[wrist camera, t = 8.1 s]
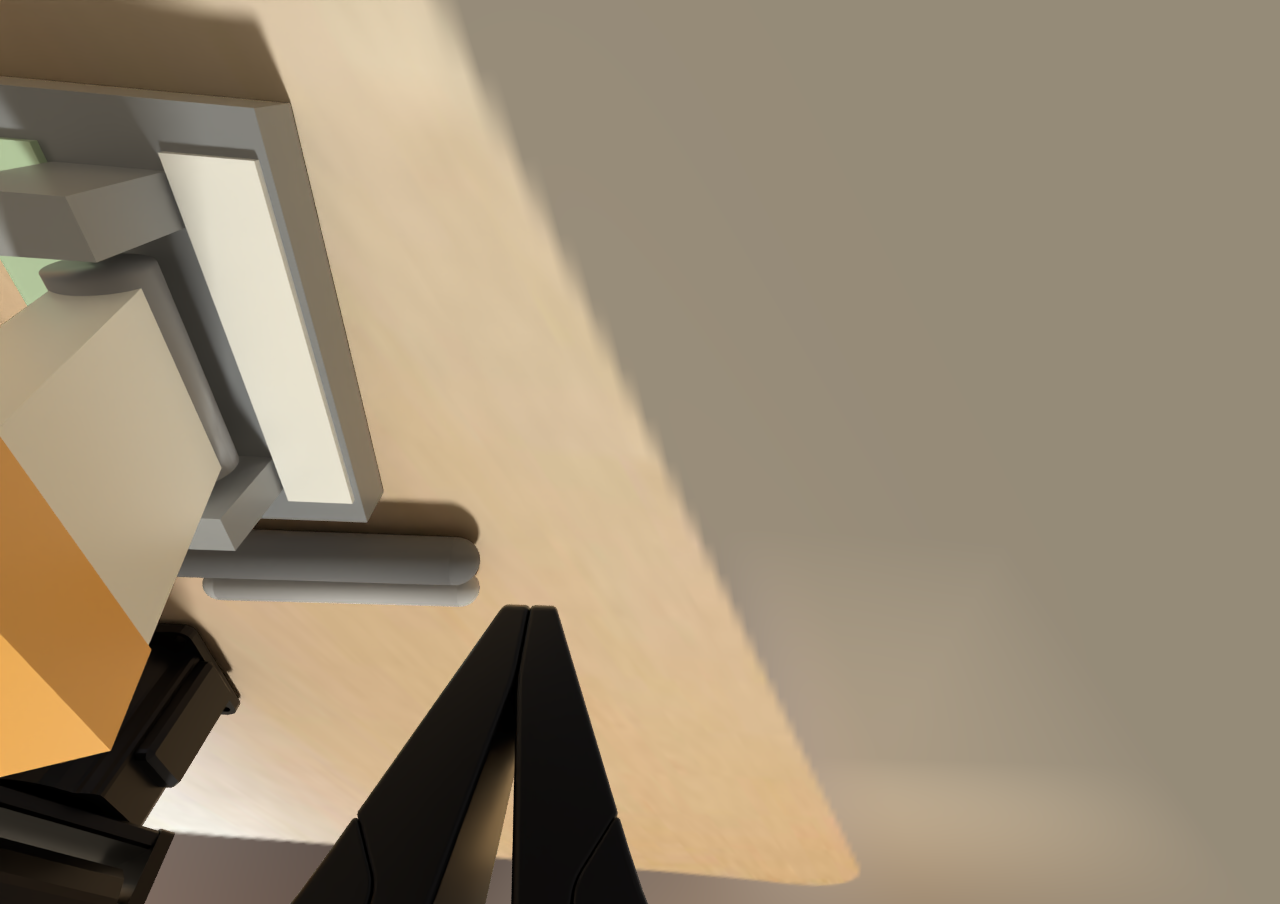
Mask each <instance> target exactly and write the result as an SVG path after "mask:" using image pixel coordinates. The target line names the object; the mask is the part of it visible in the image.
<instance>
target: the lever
mask: <svg viewBox="0 0 1280 904" xmlns="http://www.w3.org/2000/svg"><path fill="white" fill-rule="evenodd" d="M39 275H40V277H41V279H42V281H43V283H44V285H45V286H46V288H47V290H48V291H47V292H46V293H45V294H43V295H42V296H41V297H39V298H38V299H37V300H35V301H34V302H32V303H31V304H30V305H28V306H27V307H26V308H24V309H23V310H21V311H20V312H19V313H17V314H16V315H15V316H13V317H12V318H10V319H9V320H8V321H6V322H5V323H4V324H2V325H1V326H0V777H3V776H7V775H11V774H16V773H20V772H24V771H28V770H32V769H36V768H41V767H45V766H49V765H53V764H57V763H61V762H66V761H70V760H74V759H78V758H82V757H86V756H91V755H95V754H99V753H103V752H107V751H111V749H112V746H113V744H114V741H115V739H116V737H117V734H118V732H119V729H120V727H121V724H122V722H123V719H124V717H125V714H126V712H127V709H128V707H129V704H130V702H131V699H132V697H133V694H134V692H135V689H136V687H137V684H138V682H139V679H140V677H141V674H142V672H143V670H144V667H145V665H146V662H147V660H148V657H149V655H150V652H151V648H150V647H149V643H150V641H151V638H152V636H153V633H154V631H155V629H156V626H157V624H158V621H159V619H160V616H161V614H162V612H163V609H164V607H165V604H166V602H167V599H168V597H169V594H170V592H171V590H172V587H173V585H174V582H175V580H176V577H177V575H178V573H179V570H180V568H181V565H182V563H183V560H184V558H185V556H186V553H187V551H188V548H189V546H190V543H191V541H192V538H193V536H194V534H195V531H196V529H197V526H198V524H199V521H200V519H201V517H202V514H203V512H204V509H205V507H206V504H207V502H208V499H209V497H210V495H211V492H212V490H213V487H214V485H215V482H216V481H218V480H220V479H222V478H224V477H225V476H227V475H228V474H230V473H231V472H232V471H233V470H234V469H235V468H236V466H237V465H238V463H239V456H238V453H237V451H236V449H235V446H234V444H233V441H232V439H231V437H230V434H229V432H228V429H227V427H226V425H225V422H224V420H223V417H222V415H221V413H220V410H219V408H218V405H217V403H216V401H215V398H214V396H213V393H212V391H211V389H210V386H209V384H208V381H207V379H206V377H205V374H204V372H203V370H202V367H201V365H200V362H199V360H198V358H197V355H196V353H195V350H194V348H193V346H192V343H191V341H190V338H189V336H188V334H187V331H186V329H185V326H184V324H183V322H182V319H181V317H180V314H179V312H178V310H177V307H176V305H175V302H174V300H173V298H172V295H171V293H170V290H169V288H168V286H167V283H166V281H165V278H164V276H163V274H162V271H161V269H160V266H159V264H158V262H157V260H156V259H155V258H153V257H150V256H146V255H141V254H130V253H120V254H117V255H115V256H112V257H110V258H107V259H104V260H102V261H99V262H97V263H96V262H82V261H68V260H61V261H57V262H54V263H51V264H49V265H47V266H45V267H43V268H42V269H40V271H39Z"/></svg>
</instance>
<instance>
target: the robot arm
mask: <svg viewBox="0 0 1280 904" xmlns="http://www.w3.org/2000/svg"><path fill="white" fill-rule="evenodd" d="M149 647H150V648H151V652H150V655H149V657H148V660H147V662H146V665H145V667H144V670H143V672H142V674H141V677H140V679H139V682H138V684H137V687H136V689H135V692H134V694H133V697H132V699H131V702H130V704H129V707H128V709H127V712H126V714H125V717H124V719H123V722H122V724H121V727H120V729H119V732H118V734H117V737H116V739H115V741H114V744H113V746H112V749H111V751H107V752H103V753H99V754H95V755H91V756H86V757H82V758H78V759H74V760H70V761H66V762H61V763H57V764H53V765H49V766H45V767H41V768H36V769H32V770H28V771H24V772H20V773H16V774H11V775H7V776H3V777H0V904H144V903H145V901H146V899H147V896H148V894H149V892H150V890H151V887H152V885H153V883H154V880H155V878H156V876H157V874H158V871H159V869H160V867H161V864H162V862H163V860H164V858H165V855H166V853H167V851H168V849H169V846H170V844H171V842H172V840H173V837H174V835H175V833H173V832H170V831H167V830H164V829H160V830H158V831H157V830H153V829H150V828H147V827H144V826H142V825H143V824H144V822H145V820H146V819H147V817H148V816H149V814H150V812H151V811H152V809H153V807H154V806H155V804H156V803H157V801H158V799H159V798H160V796H161V795H162V793H163V791H164V790H165V788H172V787H174V786H175V785H177V784H178V783H179V782H180V781H181V779H182V778H183V776H184V774H185V773H186V771H187V769H188V768H189V766H190V764H191V763H192V761H193V759H194V758H195V756H196V755H197V753H198V751H199V750H200V748H201V746H202V745H203V743H204V741H205V740H206V738H207V736H208V735H209V733H210V731H211V730H212V728H213V726H214V725H215V723H216V722H217V720H218V718H219V717H220V715H221V714H224V715H229V714H234V713H235V712H236V710H237V708H238V707H239V705H240V701H239V699H238V697H237V696H236V694H235V693H234V691H233V689H232V688H231V686H230V684H229V683H228V681H227V679H226V678H225V676H224V674H223V673H222V671H221V670H220V668H219V666H218V665H217V663H216V661H215V660H214V658H213V656H212V655H211V653H210V652H209V650H208V648H207V647H206V645H205V643H204V642H203V640H202V638H201V637H200V635H199V634H198V632H197V631H196V630H195V629H194V628H192V627H190V626H187V625H183V624H157V626H156V629H155V631H154V633H153V636H152V638H151V641H150V643H149ZM513 778H514V807H513V852H512V897H511V899H512V900H511V904H648V903H647V900H646V898H645V895H644V893H643V890H642V887H641V884H640V881H639V878H638V875H637V872H636V869H635V866H634V863H633V860H632V857H631V854H630V851H629V848H628V844H627V841H626V838H625V834H624V831H623V828H622V824H621V821H620V819H619V818H617V814H618V812H617V808H616V805H615V802H614V798H613V795H612V792H611V788H610V785H609V782H608V778H607V775H606V772H605V768H604V765H603V762H602V758H601V755H600V752H599V748H598V745H597V742H596V738H595V735H594V731H593V728H592V725H591V721H590V718H589V715H588V711H587V708H586V705H585V701H584V698H583V695H582V691H581V688H580V685H579V681H578V678H577V675H576V671H575V668H574V665H573V661H572V658H571V655H570V651H569V648H568V645H567V641H566V638H565V634H564V631H563V628H562V624H561V621H560V618H559V614H558V611H557V609H556V607H554V606H542V605H535V606H532V607H531V608H529V606H527V605H505V606H504V607H503V608H502V609H501V610H500V611H499V613H498V614H497V615H496V617H495V618H494V620H493V621H492V622H491V624H490V625H489V627H488V628H487V630H486V631H485V632H484V634H483V635H482V637H481V638H480V639H479V641H478V642H477V644H476V645H475V647H474V648H473V649H472V651H471V652H470V654H469V655H468V656H467V658H466V659H465V661H464V662H463V664H462V665H461V666H460V668H459V669H458V671H457V672H456V673H455V675H454V676H453V678H452V679H451V681H450V682H449V683H448V685H447V686H446V688H445V689H444V690H443V692H442V693H441V695H440V696H439V698H438V699H437V700H436V702H435V703H434V705H433V706H432V708H431V709H430V710H429V712H428V713H427V715H426V716H425V717H424V719H423V720H422V722H421V723H420V725H419V726H418V727H417V729H416V730H415V732H414V733H413V734H412V736H411V737H410V739H409V740H408V742H407V743H406V744H405V746H404V747H403V749H402V750H401V751H400V753H399V754H398V756H397V757H396V759H395V760H394V761H393V763H392V764H391V766H390V767H389V768H388V770H387V771H386V773H385V774H384V776H383V777H382V778H381V780H380V781H379V783H378V784H377V785H376V787H375V788H374V790H373V791H372V793H371V794H370V795H369V797H368V798H367V800H366V801H365V802H364V804H363V805H362V807H361V808H360V810H359V811H358V814H357V815H358V818H354V819H352V820H351V822H350V823H349V825H348V826H347V828H346V829H345V830H344V832H343V833H342V835H341V836H340V838H339V839H338V840H337V842H336V843H335V845H334V846H333V847H332V849H331V850H330V852H329V853H328V854H327V856H326V857H325V858H324V860H323V861H322V863H321V864H320V865H319V867H318V868H317V869H316V871H315V872H314V873H313V875H312V876H311V878H310V879H309V880H308V881H307V883H306V884H305V885H304V887H303V888H302V890H301V891H300V892H299V893H298V895H297V896H296V897H295V899H294V900H293V901H292V902H291V904H485V903H486V899H487V894H488V890H489V885H490V881H491V876H492V872H493V867H494V863H495V858H496V854H497V849H498V845H499V840H500V836H501V832H502V827H503V823H504V818H505V814H506V809H507V805H508V800H509V796H510V791H511V787H512V782H513Z"/></svg>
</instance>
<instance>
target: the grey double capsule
mask: <svg viewBox="0 0 1280 904" xmlns="http://www.w3.org/2000/svg"><path fill="white" fill-rule="evenodd" d="M479 565H480V555H479V552H478V549H477V548H476V546H475V545H474V544H473V543H472V542H470V541H469V540H467V539H464V538H460V537H442V536H415V535H389V534H362V533H336V532H309V531H283V530H256V529H252V530H251V531H250V533H249V534H248V535H247V537H246V538H245V539H244V540H243V542H242V543H241V544H240V546H239V547H238V548H237V549H236V551H225V550H197V549H188V551H187V553H186V556H185V558H184V560H183V563H182V565H181V568H180V570H179V573H178V575H177V577H199V578H204V579H203V589H204V591H205V593H206V594H207V595H208V596H210V597H211V598H214V599H218V600H241V601H277V602H312V603H347V604H383V605H418V606H453V607H461V606H466V605H469V604H470V603H472V602H473V601H474V600H475V599H476V597H477V596H478V593H479V589H480V586H479V582H478V579H477V578H476V576H475V574H476V572H477V570H478V568H479Z"/></svg>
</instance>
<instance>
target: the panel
mask: <svg viewBox="0 0 1280 904" xmlns="http://www.w3.org/2000/svg"><path fill="white" fill-rule="evenodd" d="M120 253H130V254H141V255H146V256H150V257H153V258H155V259H156V260H157V262H158V264H159V266H160V269H161V271H162V274H163V276H164V278H165V281H166V283H167V286H168V288H169V290H170V293H171V295H172V298H173V300H174V302H175V305H176V307H177V310H178V312H179V314H180V317H181V319H182V322H183V324H184V326H185V329H186V331H187V334H188V336H189V338H190V341H191V343H192V346H193V348H194V350H195V353H196V355H197V358H198V360H199V362H200V365H201V367H202V370H203V372H204V374H205V377H206V379H207V381H208V384H209V386H210V389H211V391H212V393H213V396H214V398H215V401H216V403H217V405H218V408H219V410H220V413H221V415H222V417H223V420H224V422H225V425H226V427H227V429H228V432H229V434H230V437H231V439H232V441H233V444H234V446H235V449H236V451H237V453H238V456H239V463H238V465H237V466H236V468H235V469H234V470H233V471H232V472H231V473H230V474H228V475H227V476H225V477H224V478H222V479H220V480H218V481H216V482H215V485H214V487H213V490H212V492H211V495H210V497H209V499H208V502H207V504H206V507H205V509H204V512H203V514H202V517H201V519H200V521H199V524H198V526H197V529H196V531H195V534H194V536H193V538H192V541H191V543H190V546H189V548H188V549H197V550H225V551H236V549H237V548H238V547H239V546H240V544H241V543H242V542H243V540H244V539H245V538H246V537H247V535H248V534H249V533H250V531H251V530H252V529H253V528H254V526H255V525H256V524H257V522H258V521H259V520H260V519H261V518H265V519H291V520H316V521H342V522H368V520H369V518H370V516H371V515H372V513H373V511H374V509H375V507H376V505H377V503H378V502H379V500H380V498H381V496H382V494H383V488H382V484H381V480H380V475H379V471H378V467H377V463H376V459H375V455H374V450H373V446H372V442H371V438H370V434H369V430H368V425H367V421H366V417H365V413H364V409H363V405H362V400H361V396H360V392H359V388H358V384H357V380H356V375H355V371H354V367H353V363H352V359H351V355H350V350H349V346H348V342H347V338H346V334H345V330H344V325H343V321H342V317H341V313H340V309H339V305H338V300H337V296H336V292H335V288H334V284H333V280H332V275H331V271H330V267H329V263H328V259H327V255H326V250H325V246H324V242H323V238H322V234H321V230H320V225H319V221H318V217H317V213H316V209H315V204H314V200H313V196H312V192H311V188H310V184H309V179H308V175H307V171H306V167H305V163H304V159H303V154H302V150H301V146H300V142H299V138H298V134H297V129H296V125H295V121H294V117H293V113H292V109H291V104H290V103H283V102H272V101H262V100H251V99H241V98H230V97H219V96H209V95H198V94H188V93H177V92H166V91H156V90H145V89H135V88H124V87H113V86H103V85H92V84H81V83H71V82H60V81H50V80H39V79H28V78H18V77H7V76H0V260H1V261H2V263H3V265H4V267H5V268H6V270H7V272H8V273H9V275H10V277H11V279H12V280H13V282H14V284H15V286H16V287H17V289H18V291H19V292H20V294H21V296H22V298H23V299H24V301H25V303H26V305H27V306H28V305H30V304H31V303H32V302H34V301H35V300H37V299H38V298H39V297H41V296H42V295H43V294H45V293H46V292H47V291H48V290H47V288H46V286H45V285H44V283H43V281H42V279H41V277H40V275H39V271H40V269H42V268H43V267H45V266H47V265H49V264H51V263H54V262H57V261H61V260H68V261H82V262H96V263H97V262H99V261H102V260H104V259H107V258H110V257H112V256H115V255H117V254H120Z"/></svg>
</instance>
